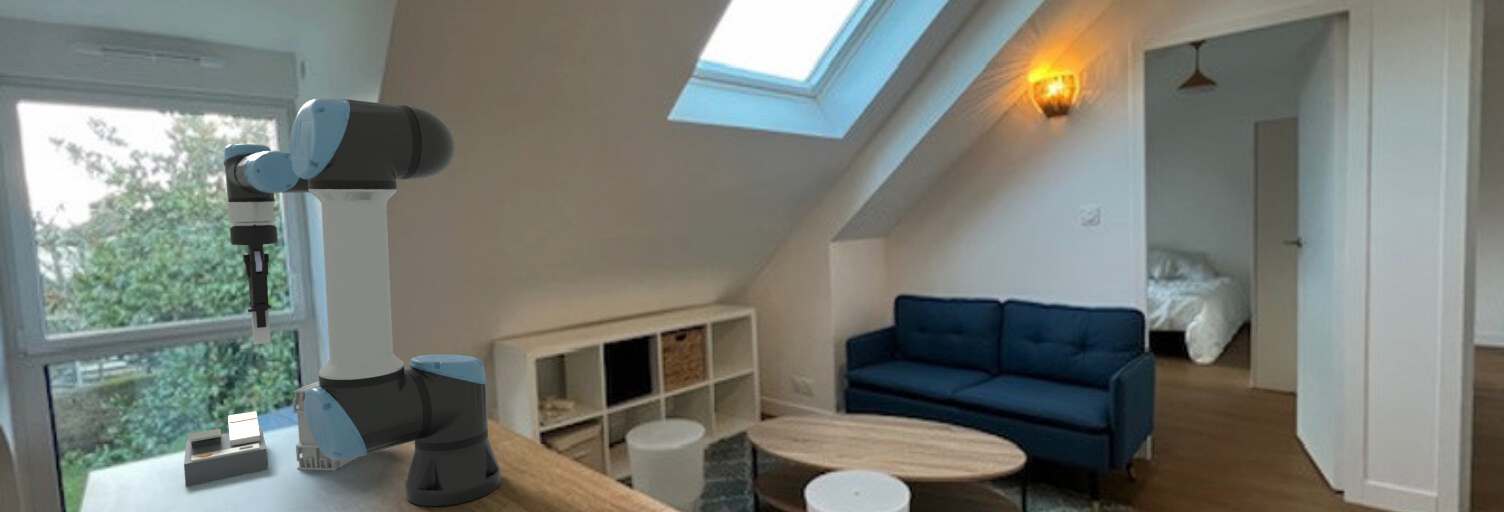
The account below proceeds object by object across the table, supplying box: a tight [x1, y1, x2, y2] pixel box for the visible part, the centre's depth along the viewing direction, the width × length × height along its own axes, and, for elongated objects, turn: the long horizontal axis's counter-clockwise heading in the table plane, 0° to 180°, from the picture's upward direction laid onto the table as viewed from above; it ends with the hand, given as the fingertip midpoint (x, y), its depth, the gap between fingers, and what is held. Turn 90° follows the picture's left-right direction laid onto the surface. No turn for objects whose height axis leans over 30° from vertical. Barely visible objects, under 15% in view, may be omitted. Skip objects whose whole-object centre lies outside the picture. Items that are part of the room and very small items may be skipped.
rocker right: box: [227, 410, 260, 446], centre depth 136 cm, size 10×5×1 cm, turn 38°
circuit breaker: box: [292, 380, 361, 471], centre depth 137 cm, size 8×14×15 cm, turn 174°
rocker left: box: [187, 428, 221, 441], centre depth 133 cm, size 10×5×1 cm, turn 38°
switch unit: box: [183, 427, 269, 487], centre depth 133 cm, size 16×12×5 cm
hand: (262, 343), depth 138 cm, fingers closed
